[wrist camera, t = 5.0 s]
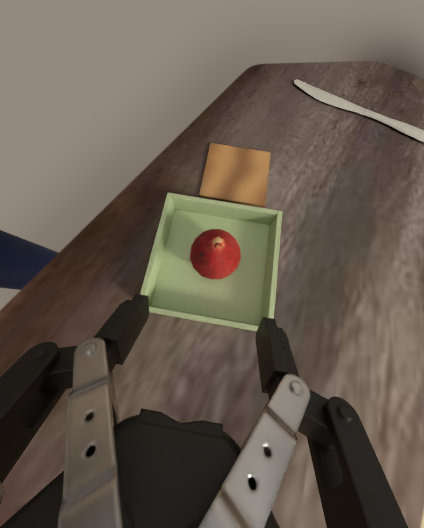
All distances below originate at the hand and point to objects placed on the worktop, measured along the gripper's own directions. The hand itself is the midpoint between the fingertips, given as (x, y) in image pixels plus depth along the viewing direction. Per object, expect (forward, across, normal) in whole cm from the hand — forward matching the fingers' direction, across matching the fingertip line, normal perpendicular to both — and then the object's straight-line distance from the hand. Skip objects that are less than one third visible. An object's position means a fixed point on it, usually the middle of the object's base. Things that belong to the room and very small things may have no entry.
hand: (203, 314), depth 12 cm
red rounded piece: (+12, 0, +3) cm, 13 cm away
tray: (+12, 0, +3) cm, 13 cm away
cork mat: (+23, -1, -8) cm, 24 cm away
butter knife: (+35, -21, -20) cm, 46 cm away
